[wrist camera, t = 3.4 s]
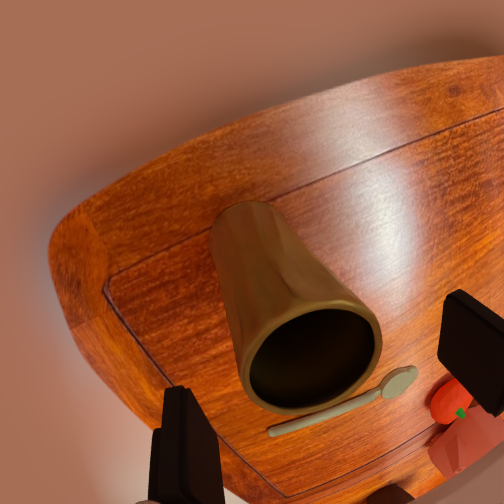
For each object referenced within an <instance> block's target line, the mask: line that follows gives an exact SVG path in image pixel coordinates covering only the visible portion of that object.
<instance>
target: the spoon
mask: <svg viewBox="0 0 504 504" xmlns="http://www.w3.org/2000/svg"><path fill="white" fill-rule="evenodd" d="M417 376H418V369H417V368H416V367H415V366H409V367H407V368H398V369H396V370H394V371H392V372H391V373H389V374H388V375H387V376H386V377H385V378H384V379H383V380H382V382H381V384H380V386H379V387H376V388H374V389H372V390H370V391H367V392H366V394H363V395H361V396H359V397H356V398H354V399H351V400H349V401H347V402H344V403H341V404H339V405H336V406H334V407H331V408H328V409H326V410H323V411H320V412H317V413H315V414H312V415H309V416H306V417H303V418H300V419H297V420H294V421H290V422H287V423H284V424H281V425H277V426H274V427H271V428H269V429H268V432H267V433H268V435H269V436H271V437H275V436H278V435H282V434H285V433H288V432H292V431H295V430H298V429H301V428H304V427H307V426H310V425H313V424H316V423H319V422H321V421H324V420H327V419H330V418H332V417H335V416H337V415H340V414H343V413H345V412H348V411H350V410H353V409H355V408H357V407H360V406H362V405H364V404H367V403H369V402H371V401H373V400H375V399H376V396H378V395H380V394H381V395H382V397H383V398H385V399H392V398H395V397H397V396H399V395H401V394H402V393H403V392H404V391H405V390H406V389H407V388H408V387H409V386H410V385H411V384H412V383H413V382H414V381H415V380H416V378H417Z"/></svg>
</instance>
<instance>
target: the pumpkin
mask: <svg viewBox="0 0 504 504" xmlns="http://www.w3.org/2000/svg"><path fill="white" fill-rule="evenodd" d="M472 400H473V397H472V396H471V394H470V393H469V392H468V391H467V390H466V389H465V388H464V387H463V386H462V385H461V383H460V382H459V381H458V380H457V379H456V378H453V379H452V380H450V381H449V382H447V383H446V384H444V385H443V386H442V387H441V388H440V389H439V390H438V391H437V392H436V393H435V395H434V396H433V398H432V401H431V404H430V412H431V416H432V418H433V419H434V420H435V421H436V422H438V423H441V424H450V423H451V422H452V421H454V420H455V419H456V418H458V417H460V418H461V419H463V418H464V417H465V416H466V415H465V413H464V411H465V410H466V409H467V408H468V407H469V405H470V404H471V402H472Z"/></svg>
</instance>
